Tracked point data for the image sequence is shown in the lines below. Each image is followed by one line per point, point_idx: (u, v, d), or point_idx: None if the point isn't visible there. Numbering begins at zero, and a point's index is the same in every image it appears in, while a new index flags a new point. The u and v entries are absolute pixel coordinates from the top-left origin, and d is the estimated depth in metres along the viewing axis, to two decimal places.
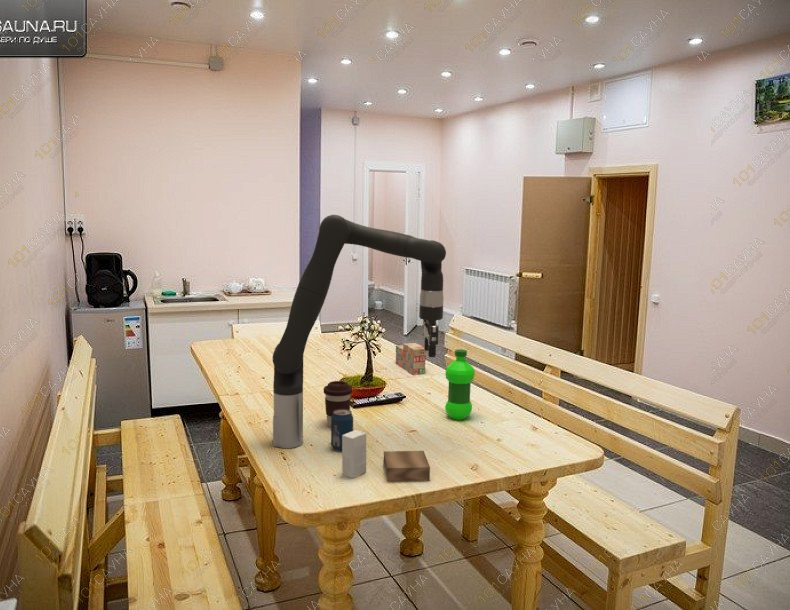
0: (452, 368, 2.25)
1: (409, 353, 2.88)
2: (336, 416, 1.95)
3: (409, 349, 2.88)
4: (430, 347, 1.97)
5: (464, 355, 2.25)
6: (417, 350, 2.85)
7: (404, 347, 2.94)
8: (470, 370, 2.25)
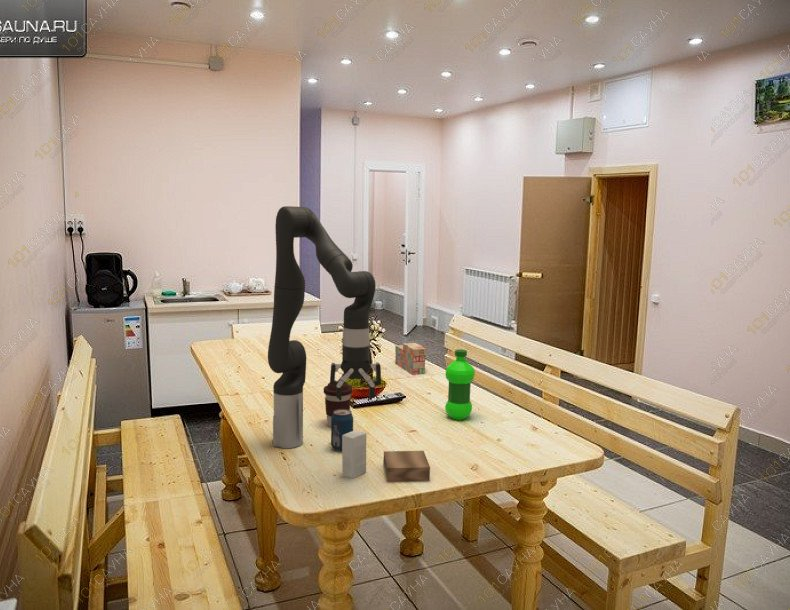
0: (452, 368, 2.25)
1: (409, 353, 2.89)
2: (336, 416, 1.95)
3: (409, 349, 2.88)
4: (373, 388, 1.77)
5: (464, 355, 2.25)
6: (417, 350, 2.85)
7: (404, 347, 2.94)
8: (470, 370, 2.25)
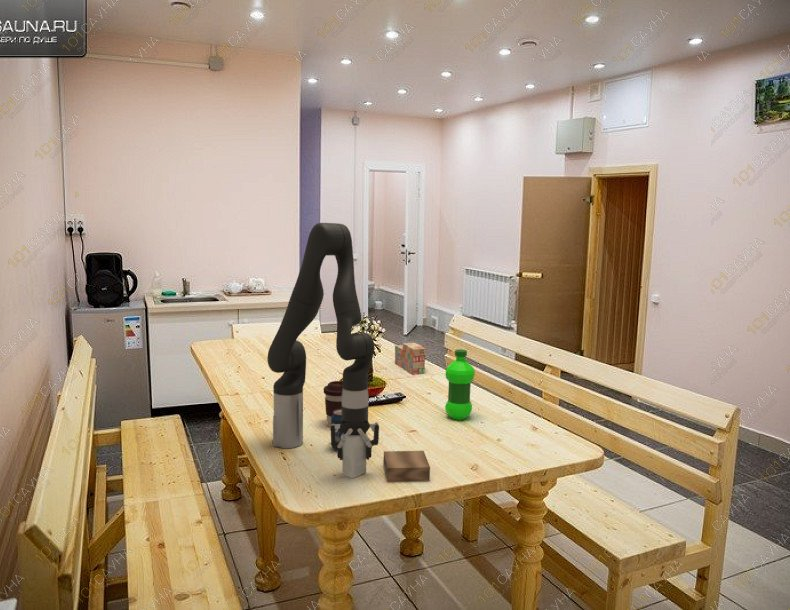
0: (452, 368, 2.25)
1: (408, 353, 2.89)
2: (336, 416, 1.95)
3: (408, 349, 2.89)
4: (370, 448, 1.80)
5: (464, 355, 2.25)
6: (417, 350, 2.85)
7: (403, 347, 2.94)
8: (470, 370, 2.25)
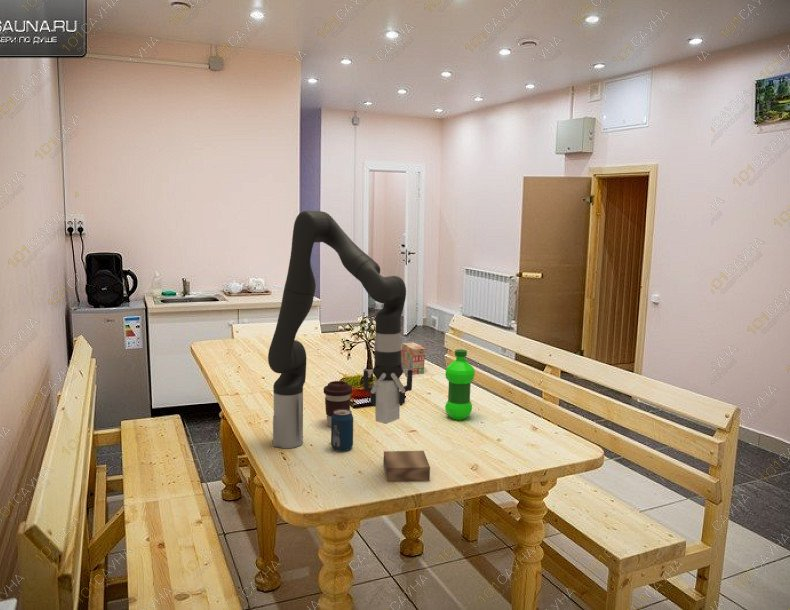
0: (452, 368, 2.25)
1: (408, 353, 2.89)
2: (336, 416, 1.95)
3: (408, 349, 2.89)
4: (403, 394, 1.78)
5: (464, 355, 2.25)
6: (416, 350, 2.85)
7: (403, 347, 2.94)
8: (470, 370, 2.25)
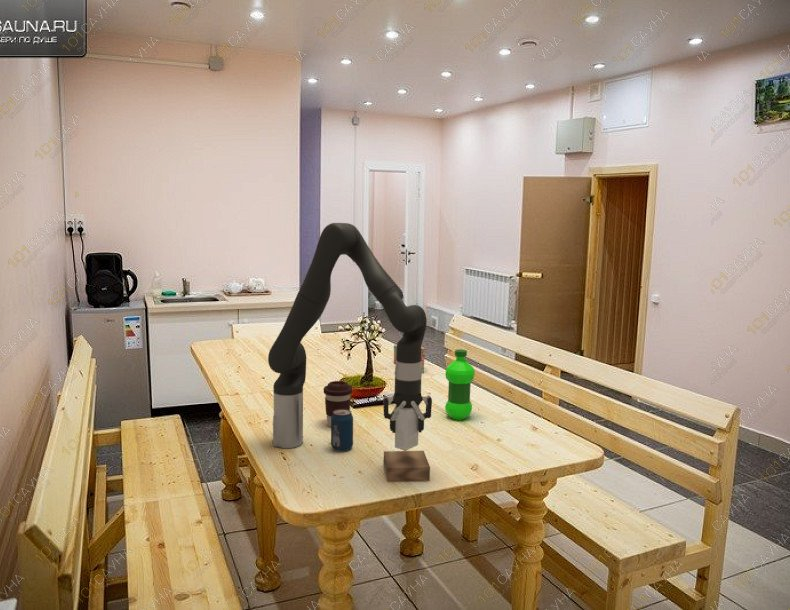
0: (452, 368, 2.25)
1: None
2: (336, 416, 1.95)
3: None
4: (422, 421, 1.80)
5: (464, 355, 2.25)
6: None
7: None
8: (470, 370, 2.25)
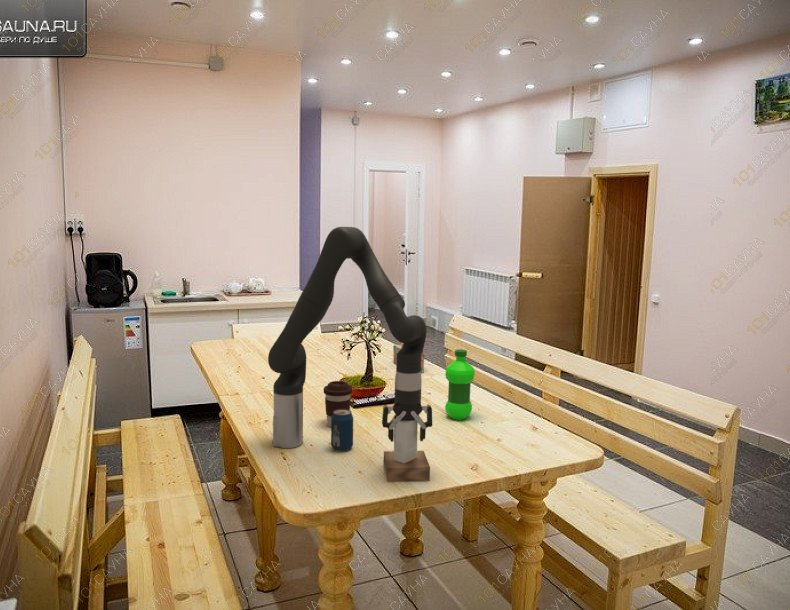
0: (452, 368, 2.25)
1: None
2: (336, 416, 1.95)
3: None
4: (424, 430, 1.81)
5: (464, 355, 2.25)
6: None
7: (402, 346, 2.95)
8: (470, 370, 2.25)
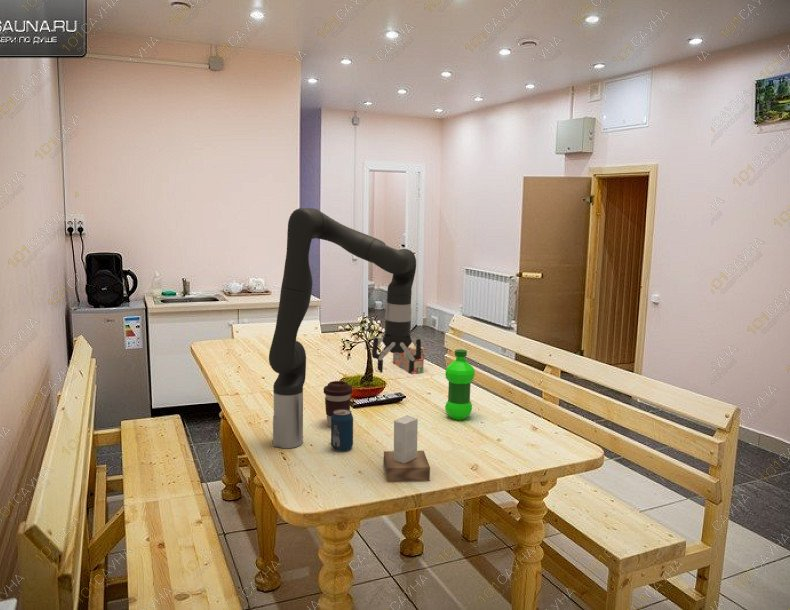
0: (452, 368, 2.25)
1: None
2: (336, 416, 1.95)
3: None
4: (413, 362, 1.85)
5: (464, 355, 2.25)
6: (415, 349, 2.86)
7: None
8: (470, 370, 2.25)
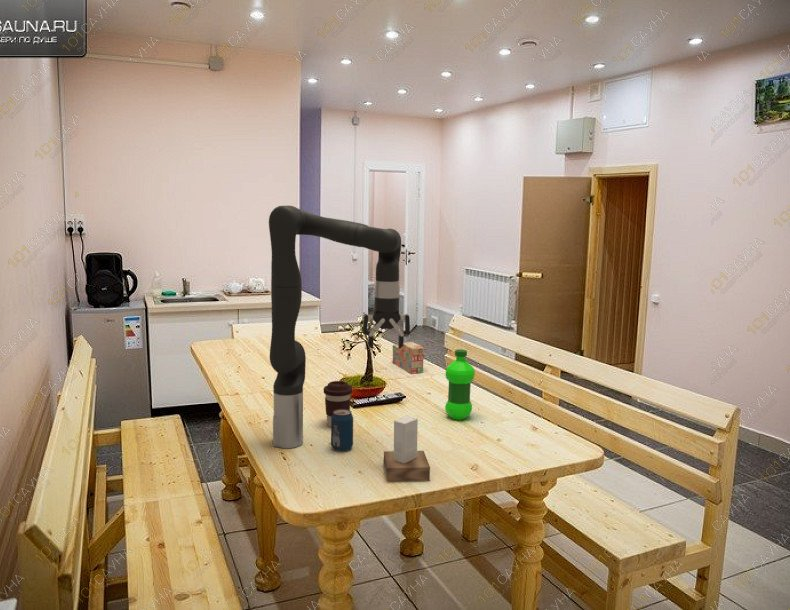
0: (452, 368, 2.25)
1: (407, 352, 2.90)
2: (336, 416, 1.95)
3: (407, 348, 2.90)
4: (402, 338, 1.92)
5: (464, 355, 2.25)
6: (415, 349, 2.86)
7: None
8: (470, 370, 2.25)
